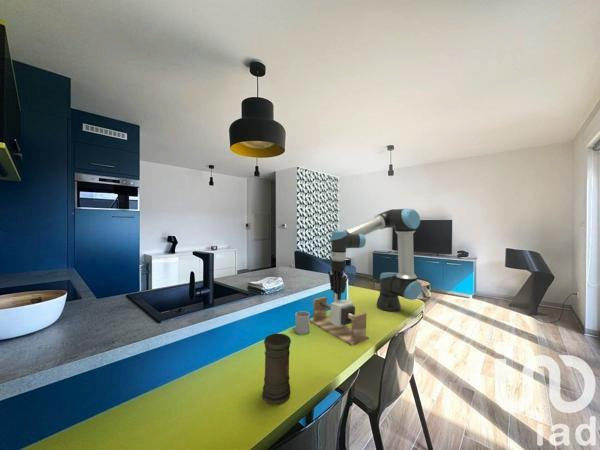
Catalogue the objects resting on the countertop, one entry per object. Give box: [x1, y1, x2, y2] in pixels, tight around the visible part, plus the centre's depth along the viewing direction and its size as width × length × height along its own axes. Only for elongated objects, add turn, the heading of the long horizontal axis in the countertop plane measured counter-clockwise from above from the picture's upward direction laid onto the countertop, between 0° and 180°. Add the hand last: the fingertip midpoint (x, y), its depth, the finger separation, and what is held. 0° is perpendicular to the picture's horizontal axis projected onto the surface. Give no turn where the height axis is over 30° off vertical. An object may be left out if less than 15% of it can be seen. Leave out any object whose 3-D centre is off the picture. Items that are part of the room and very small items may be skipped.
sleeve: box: [330, 299, 355, 327], centre depth 122 cm, size 6×10×10 cm, turn 126°
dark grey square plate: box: [341, 305, 356, 326], centre depth 119 cm, size 2×8×8 cm, turn 126°
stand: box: [310, 296, 369, 346], centre depth 125 cm, size 30×12×12 cm, turn 36°
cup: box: [294, 310, 311, 335], centre depth 124 cm, size 7×10×9 cm
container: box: [262, 333, 292, 406], centre depth 77 cm, size 9×9×18 cm
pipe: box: [320, 301, 353, 320], centre depth 125 cm, size 28×3×3 cm, turn 36°
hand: (337, 305), depth 125 cm, fingers closed
